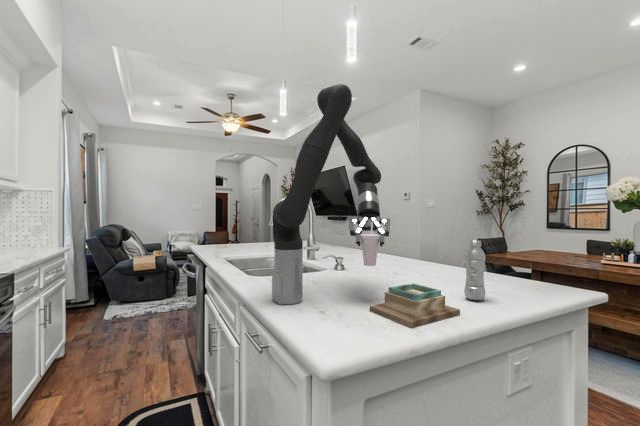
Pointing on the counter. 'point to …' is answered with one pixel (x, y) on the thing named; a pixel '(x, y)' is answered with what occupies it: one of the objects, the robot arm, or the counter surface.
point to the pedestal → (414, 305)
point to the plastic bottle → (475, 271)
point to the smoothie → (370, 247)
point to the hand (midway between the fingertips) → (370, 244)
